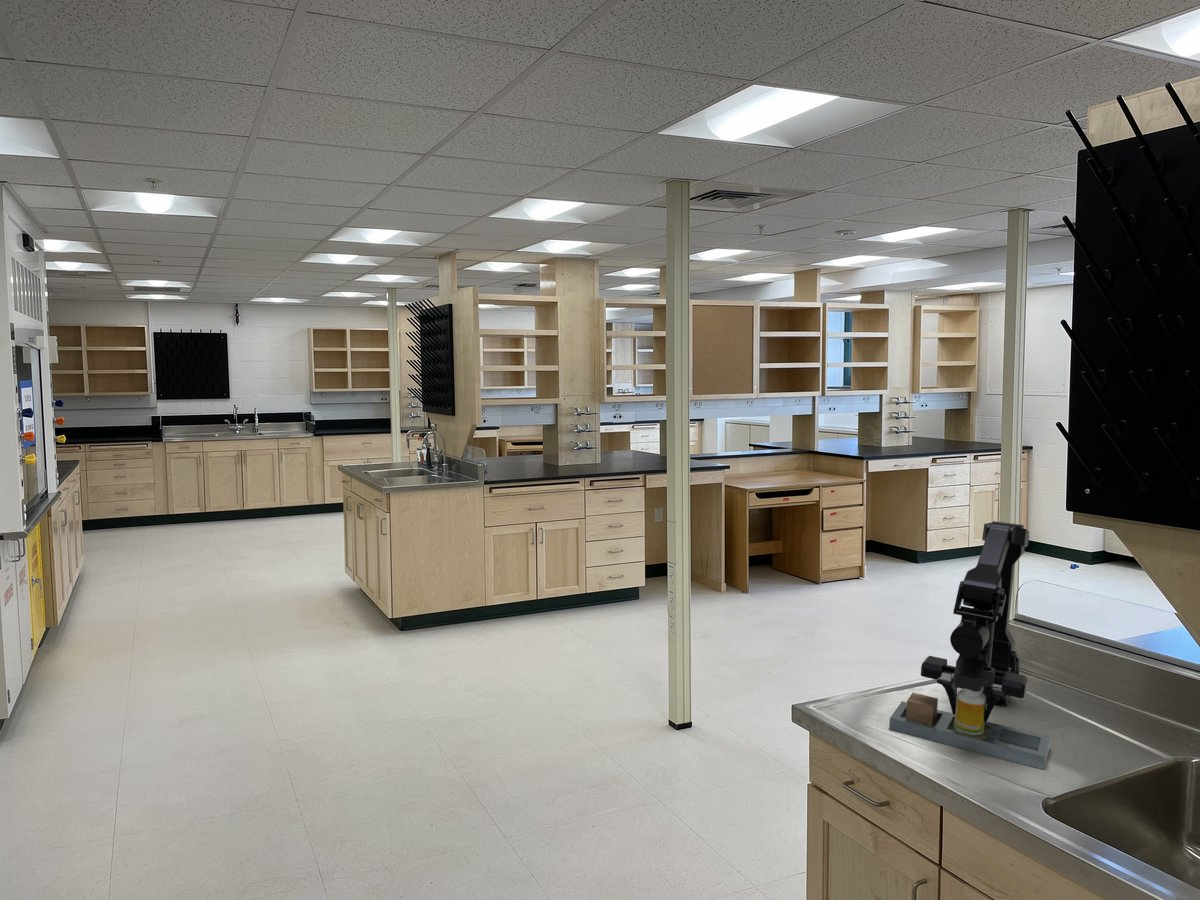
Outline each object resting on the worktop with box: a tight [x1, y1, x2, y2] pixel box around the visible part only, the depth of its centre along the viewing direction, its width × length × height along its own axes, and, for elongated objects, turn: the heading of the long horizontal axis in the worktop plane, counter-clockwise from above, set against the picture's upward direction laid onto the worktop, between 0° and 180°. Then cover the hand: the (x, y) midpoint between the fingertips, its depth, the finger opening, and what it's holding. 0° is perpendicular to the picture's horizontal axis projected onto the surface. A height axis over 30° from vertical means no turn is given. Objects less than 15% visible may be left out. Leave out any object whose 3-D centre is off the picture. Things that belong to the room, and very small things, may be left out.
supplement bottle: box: [954, 686, 987, 735], centre depth 170 cm, size 5×5×10 cm
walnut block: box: [906, 692, 939, 726], centre depth 175 cm, size 5×5×6 cm
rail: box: [888, 700, 1052, 770], centre depth 170 cm, size 10×28×2 cm, turn 58°
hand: (969, 717), depth 170 cm, fingers closed on supplement bottle, 5 cm apart
